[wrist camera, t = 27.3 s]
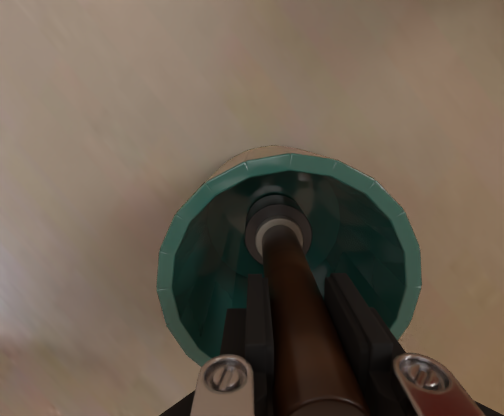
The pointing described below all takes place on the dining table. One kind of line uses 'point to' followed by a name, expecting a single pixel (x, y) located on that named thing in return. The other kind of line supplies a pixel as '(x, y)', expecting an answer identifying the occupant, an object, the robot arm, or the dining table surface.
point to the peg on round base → (300, 318)
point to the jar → (318, 257)
